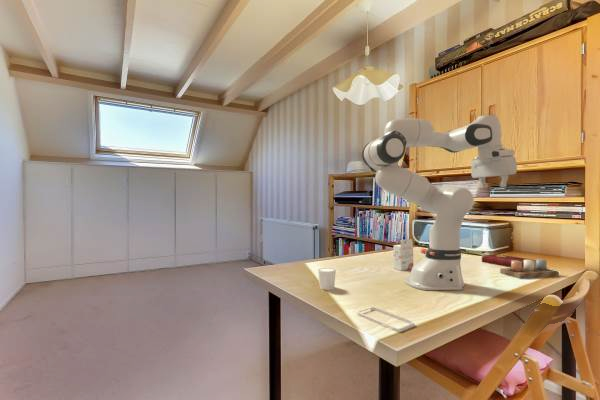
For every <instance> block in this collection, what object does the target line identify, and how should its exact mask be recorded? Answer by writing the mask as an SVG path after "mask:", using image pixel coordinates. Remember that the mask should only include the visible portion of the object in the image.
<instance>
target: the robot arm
mask: <svg viewBox="0 0 600 400" xmlns="http://www.w3.org/2000/svg"><path fill="white" fill-rule="evenodd" d="M383 130H384V131H383V133H384V134H383V136H381V137H378V138H375V139H374V140H372V141H370V142H368V143H367V144H366V145H364V147H363V149H362V151H361V159H362V161H363V163H364V164H365V165H366V166H367V167H368V168H369V169H370V171H371V172H373V173H375V178H374V179H375V180H374V181H375V183H376V185H377V186H378V187H380V188H381V189H382V190H384V191H386V192H388V193H390V194H391V195H393V196H396V197H399V198H401V199H403V200H405V201H408V202H410V203H412V204H414V205H416V206H417V207H419V208H421V209H422V211H425V212H427V213H429V214H436V216H435V221H434V223H433V224H432V225H431V226H430V228H429V230H428V231H429V233H428V234H429V236H428V237H429V239H428V240H429V241H428V242H429V246H428V248H426V249H425V248H423V247H422V248H421V254H423V255H425V257H423V258H422V259H421V260H420V261H418V262H417V263H416V264H415V265H413V267H412V269H410V270H411V271H410V277H406V278H405V279H404V283H406V284H407V285H408V286H410V287H413V288H414V289H418V290H423V291H462V290H463V287H465V285H466V284H465V282H464V279H463V274H462V266H461V259H462V250H461V248H460V247H461V244H460V243H461V242H460V241H461V237H460V236H461V235H460V234H461V227H462V224H463V221H464V218H465V216H466V215H467V213H469V212H470V211H471V210H472V208H473V206H474V202H475V198H474V195H473V194H472V192H471V191H470V190H469V189H468V188H464V187H461V186H456V185H455V186H438V185H434V184H433V183H431V182H430V181H429V179H428V178H427V177H426V176H424V175H420V174H419V173H416V172H413V171H411V170H409V169H407V168H403V167H402V166H401V165H399V164H398V162H399V161H400V160H401V159H402V158H403V157H404V156H405V153H406V150H407V148H410V147H411V148H423V147H432V148H434V147H435V148H440V149H444V150H445V151H447V152H449V153H453V154H454V153H458V152H462V151H464V150H469V149H473V148H474V149H475V148H477V154H478V156H475V157H474V158H473V159H472V160H471V163H472V164H471V166H470V167H471V172H470V173H471V178H472V179H478V181H479V183H480V184H481V189H486V188H488V187H489V183H487V182H486V178H488V177H489V178H490V177H491V178H492V177H500V179H501V182H499V187H500V188H506V187H507V182H508V181H509V176H513V175H516V174H517V172H518V164H517V159H516V157H515V154H516V152H515V150H514V149H512V148H510V149H509V148H505V147H504V144H503V142H502V136H503V135H502V126H501V122H500V119H499V117H498V116H497V115H494V114H482V115H479V116H477V118H476V119H475V120H474V121H472V122H471V123H469V124H467V125H464V126H461V127H459V128H458V127H457V128H456V129H455V128H454V129H451V130H447V131H446V132H439V131H435V129H434V126H433V123H432V122H430V121H429V120H427V119H423V118H413V117H409V118H408V117H406V118H405V117H404V118H403V117H402V118H395V119H391V120H389V121H388V122H386V124H385V127H384V129H383Z"/></svg>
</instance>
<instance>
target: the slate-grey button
mask: <svg viewBox="0 0 600 400" xmlns="http://www.w3.org/2000/svg"><path fill="white" fill-rule="evenodd" d="M535 260H536V270H541V271H547V269H548V267H547V266H548V265H547V262H548V261H547V259H543V258H536V259H535Z"/></svg>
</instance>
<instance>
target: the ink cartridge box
mask: <svg viewBox="0 0 600 400" xmlns="http://www.w3.org/2000/svg"><path fill="white" fill-rule="evenodd" d="M399 242H400V244H393V269H394V270H397V269H398V270H397V271H401V270H402V271H406V270H412V267H413V266H414V244H413V239H412V238H408V239H407V238H406V239H400V241H399Z"/></svg>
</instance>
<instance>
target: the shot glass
mask: <svg viewBox="0 0 600 400" xmlns="http://www.w3.org/2000/svg"><path fill="white" fill-rule="evenodd" d="M336 271H337V270H336V269H334V268H329V267H323V268H319V269H318V270H317V272H318V283H319V289H320V290H323V291H324V290H326V291H330V290H334V289H335V284H336V283H335V282H336Z"/></svg>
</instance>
